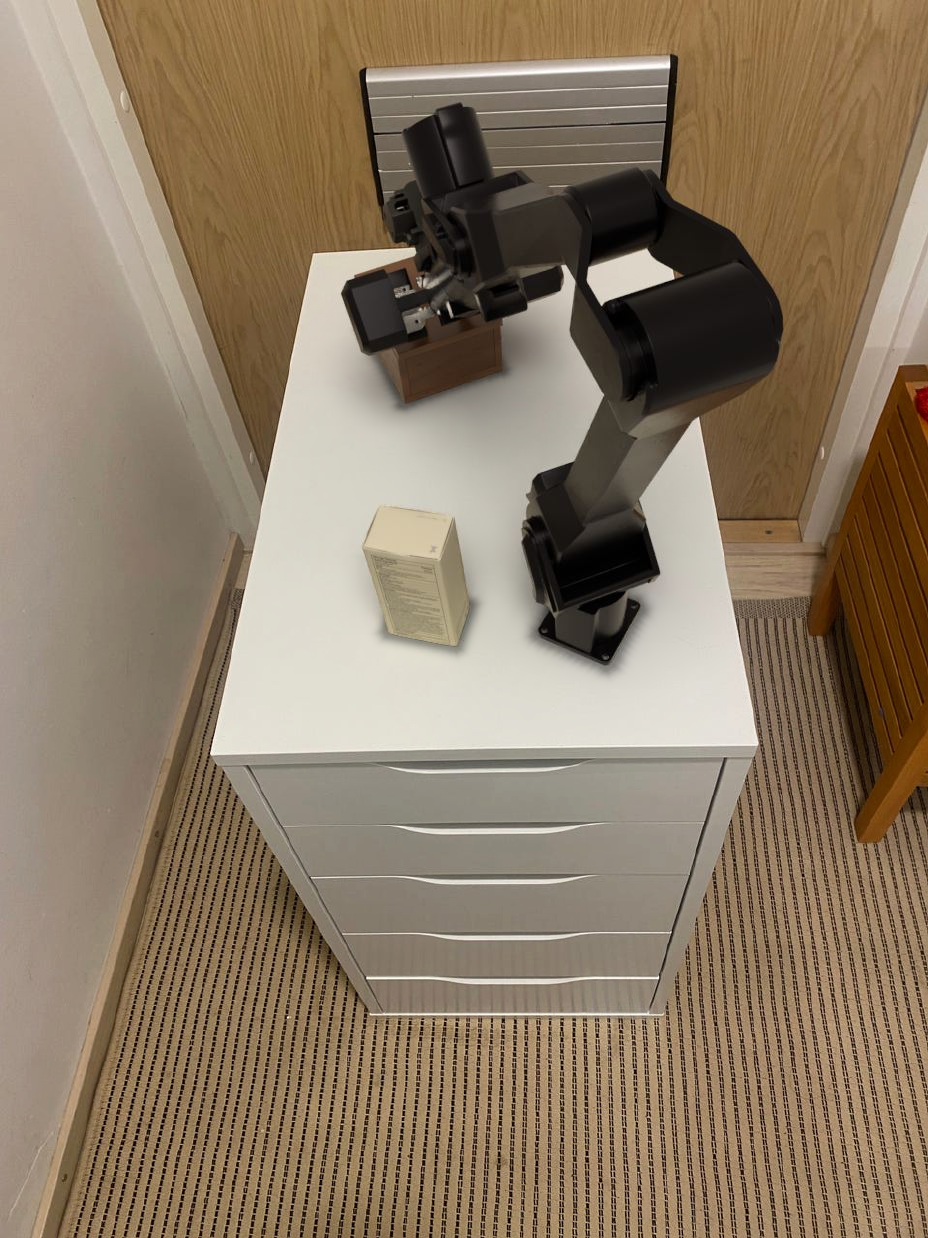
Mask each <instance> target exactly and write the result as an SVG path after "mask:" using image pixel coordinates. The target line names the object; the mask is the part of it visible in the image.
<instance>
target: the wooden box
mask: <svg viewBox="0 0 928 1238" xmlns="http://www.w3.org/2000/svg"><path fill="white" fill-rule="evenodd" d="M502 345H503V343H502V326H500V327H497V328H494V329H491V330H488V331H485V332H482V333H479V334H476V335H474V336H471V337H468V338H465V339H462V340H459V341H456V342H453V343H450V344H447V345H444V346H441V347H438V348H435V349H432V350H429V351H426V352H423V353H420V354H417V355H414V356H411V357H408V358H405V359H402V360H399V359H398V357H397V356H396V354H395V352H394V350H393V349H390V350H387V351H384V352H381V353H378V356H379V358H380V360H381V361H382V363H383V365H384V367H385V369H386V371H387V372H388V374H389V377H390V378H391V379H392V382H393V384H394V386H395V388H396V390H397V391H398V393H399V395H400V397H401V399H402V401H403V403H404V404H408V403H411V402H414V401H417V400H420V399H423V398H425V397H428V396H432V395H435V394H437V393H441V392H443V391H446V390H449V389H453V388H454V387H459V386H460V385H461V386H462V385H463V384H467V383H469V382H473V381H475V380H478V379H481V378H484V377H488V376H490V375H493V374H495V373H498V372H502V371H503V370H504V363H503V362H504V361H503V346H502Z"/></svg>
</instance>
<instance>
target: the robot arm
mask: <svg viewBox="0 0 928 1238" xmlns="http://www.w3.org/2000/svg"><path fill="white" fill-rule="evenodd" d="M401 138H402V141H403V145H404V147H405V150H406V153H407V157H408V160H409V163H410V166H411V170H412V172H413V176H414V180H411V181H408V182H407V183H406V184H405V185H404V187H403V188H401V189H397V190H394V191H393V196H389V197H388V200H387V201H386V202H385V203H384V204H383V206H382V217H383V222H384V225H385V227H386V229H387V231H388V234H389V236H390V238H391V240H392V242H393V244H396V245H397V244H398V245H399V244H401V243H405V244H406V245H407V247H408V248H411V247H414V249H415V254H414V255H413V256H414V257H413V256H412V257H413V260H414V263H415V266H416V269H417V272H418V273H419V272H422V271H423V272H424V274H423V275H420V276H418V277H417V278H416V282H417V285H418V287H419V288H420V289H421V288H422V285H423V288H424V289H423V290H420V291H417V292H416V291H415V289H413V288H412V285H411V282H410V279H409V276H408V273H407V270H406V268H403V269H400V270H397V271H394V272H390V273H386V271H385V270H384V269H382V270H378V271H375V272H372V273H369V274H366V275H363V276H360V277H356V278H354V277H353V278H351V279H347V280H346V281H345V283H344V285H343V288H342V289H341V292H340V296H341V299H342V301H343V304H344V307H345V310H346V312H347V313H346V314H347V315H348V318H349V321H350V324H351V328H352V330H353V332H354V335H355V338H356V341H357V344H358V347H359V350H360V353H362V354H364V355H367V356H369V357H372V356H374V355H377V354H378V353H381V352H384V351H387V350H390V349H393V348H396V347H398V346H401V345H403V344H406V343H409V342H412V341H415V340H418V339H421V338H424V337H427V336H428V333H427V330H426V327H425V320H426V319H428V318H431V317H434V316H437V315H438V317H439V320H440V323H441V326H442V327H443V326H446V325H449V324H452V323H455V322H458V321H461V320H464V319H467V318H470V317H473V316H476V315H479V314H481V316H482V319H483V322H484V323H486V324H487V323H490V322H493V321H497V320H500V319H506V318H509V317H512V316H515V315H518V314H521V313H525V312H527V311H528V310H529V306H528V305H529V304H531V303H534V302H538V301H540V300H543V299H546V298H549V297H552V296H555V295H557V294H558V293H560V292H561V291H562V289H563V286H564V283H565V274H564V271H563V267H562V266H566V268H567V269H568V271H569V273H570V275H571V276H572V278H573V280H574V282H575V283H574V289H573V290H574V291H573V297H572V306H571V314H570V321H569V322H570V323H569V329H568V331H569V336H570V338H571V341H572V342H573V343H574V345H575V347H576V349H577V350H578V353H579V354H580V356H581V357H582V360H583V361H584V362H585V365H586V367H587V369H589V372H590V374H591V375H592V377H593V379H594V381H595V382H596V384H597V386H598V388H599V389H600V391H601V393H602V394H603V395H602V399H601V401H600V403H599V405H598V408H597V410H596V412H595V414H594V416H593V419H592V420H591V423H590V424H589V428H588V430H587V432H586V434H585V437H584V438H583V441H582V442H581V445H580V448H579V450H578V451H577V454H576V456H575V459H574V460H573V461H570V462H567V463H564V464H562V465H558V466H556V467H553V468H550V469H547V470H545V471H541V472H538V473H537V474H536V475H535V476H534V477H533V479H532V480H531V486H530V491H529V492H527V493H525V497H526V499H527V501H528V504H527V506H526V508H525V518H526V519H523V520H522V523H521V528H520V531H521V535H522V539H521V542H520V543H521V548H522V551H523V555H524V558H525V559H524V560H525V563H526V566H527V569H528V572H529V577H530V581H531V584H532V597H533V599H534V601H535V603H537V604H540V605H544V606H545V607H548V609H549V611H548V612H547V614H546V615H545V617H544V619H543V620H542V622H541V623H540V624H539V627H538V629H537V634H538V636H539V637H540V638H541V639H544V640H546V641H549V642H551V643H553V644H556V645H558V646H559V647H563V648H565V649H568V650H569V651H572V652H574V653H576V654H578V655H581V656H582V657H585V658H588V659H590V660H593V661H594V662H597V663H598V664H599V663H600V664H601V665H605V666H606V665H609V664H611V663H612V661H613V659H614V658H615V656H616V654H617V653H618V651H619V648H620V647H621V645H622V643H623V642H624V640H625V638H626V637H627V634H628V632H629V631H630V629H631V627H632V625H633V624H634V622H635V621H636V618H637V617H638V615H639V613H640V612H641V608H642V607H641V606H642V605H641V604H640V602H639V601H637V600H635V599H633V598H630V597H629V596H628V595H629V591H630V590H632V589H635V588H636V587H641V586H643V585H645V584H650V583H653V582H655V581H656V580H657V579H658V578H659V577H660V576H661V569H660V566H659V562H658V558H657V554H656V552H655V548H654V545H653V542H652V538H651V534H650V530H649V527H648V524H647V519H646V516H645V514H644V513H645V512H644V511H643V507H642V504H641V500H640V499H641V497H642V496H643V494H644V493H645V491H646V490H647V488H648V487H649V486H650V484H651V482H652V481H653V480H654V478H655V477H656V475H657V474H658V472H659V471H660V469H662V467H663V465H664V464H665V462H666V461H667V459H668V458H669V456H670V455H671V454H672V452H673V451H674V449H675V448H676V446H677V445H678V443H679V442H680V441H681V439H682V437H683V436H684V435H685V433H686V432H687V430H688V429H689V427H690V425H691V424H692V423H693V422H694V421H695V420H696V419H698V418H699V417H701V416H703V415H705V414H708V413H709V412H712V411H713V410H715V409H717V408H719V407H721V406H722V405H725V404H726V403H729V402H730V401H733V400H735V399H736V398H737V397H740V396H742V395H743V394H745V393H747V392H748V391H749V390H750V389H751V388H753V387H754V386H755V385H757V384H758V383H760V382H761V381H763V380H764V379H765V378H767V377H768V376H769V375H770V374H771V373H772V372H773V370H774V369H775V366H776V364H777V362H778V359H779V356H780V351H781V347H782V345H781V342H782V338H783V333H784V315H783V310H782V306H781V302H780V300H779V298H778V296H777V293H776V292H775V289H774V288H773V286H772V285H771V283H770V282H769V281H768V279H767V278H766V276H765V275H764V273H763V272H762V271H761V269H760V268H759V266H758V265H757V263H756V262H755V261H754V259H753V257H752V256H751V254H750V253H749V252H748V250H747V249H746V248H745V246H744V244H743V243H742V241H741V239H740V238H739V237H738V236H737V235H736V233H734V232H733V231H732V230H731V229H730V228H728V227H726V226H724V225H722V224H720V223H719V222H716V221H715V220H713V219H711V218H709V217H707V216H706V215H703V214H701V213H699V212H697V211H696V210H694V209H692V208H690V207H688V206H687V205H685V204H683V203H681V202H679V201H677V200H675V199H674V198H673V196H672V195H671V194H670V192H669V191H668V189H667V188H666V186H665V185H664V183H663V182H662V180H661V179H660V177H659V176H658V174H656V172H655V171H653V169H652V168H648V167H647V168H646V167H644V168H639V167H638V166H628V167H625V168H622V169H618V170H614V171H612V172H608V173H606V174H602V175H598V176H595V177H592V178H588V179H585V180H582V181H579V182H575V183H572V184H569V185H567V186H565V187H564V189H563V191H561V192H557V193H554V191H553V188H552V187H551V186H550V185H547V184H542V183H536V182H535V181H534V180H533V179H532V178H530V177H529V175H528V174H526V173H525V172H524V171H523V170H522V169H517V170H514V171H510V172H508V173H507V172H506V173H504V174H500V175H497V176H496V174H495V170H494V167H493V164H492V160H491V158H490V154H489V151H488V148H487V147H488V146H487V143H486V140H485V137H484V134H483V130H482V127H481V123H480V120H479V116H478V113H477V111H476V108H474V107H473V106H463V103H462V101H459V102H455V103H452V104H448V105H445V106H441V107H437V108H435V110H434V112H433V114H430V115H429V116H426V117H424V118H422V119H420V120H418V121H417V122H414V123H413V124H412V125H411V126H408V127H405V128H404V129H402V131H401ZM644 250H647V252H648V253H649V254H650V256H651V257H652V258H653V259H654V260H655V261H656V262H657V263H660V264H662V265H664V266H665V267H667V268H669V269H671V270H673V271H674V272H677V273H678V274H680V275H682V276H679V277H676V278H673V279H670V280H666V281H664V282H661V283H657V284H655V285H651V286H649V287H644V288H643V289H639V290H635V291H632V292H630V293H626V294H624V295H620V296H617V297H614V298H611V299H609V300H606V301H604V302H603V304H601V302H600V301H599V299H598V298H597V296H596V294H595V293H594V290H593V289H592V287H591V285H590V284H589V282H588V275H589V268H592V267H594V266H598V265H601V264H604V263H608V262H611V261H614V260H616V259H620V258H623V257H626V256H629V255H633V254H636V253H638V252H642V251H644ZM426 303H429V305H428V309H427V307H426V306H424V310H423V309H422V308H421V306H420V305H423V304H426ZM378 355H379V354H378ZM543 631H546V632H543ZM605 657H606V658H607V659H606V658H605Z"/></svg>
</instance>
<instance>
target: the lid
mask: <svg viewBox="0 0 928 1238" xmlns="http://www.w3.org/2000/svg"><path fill="white" fill-rule="evenodd" d="M414 256H415V255H413V256H410V257H409V256H408V257H407V258H403V259H400V260H397V261H394V262H390V263H387V264H385V265H382V266H378V267H375V268H372V269H369V270H366V271H363V272H359V273H355V274H354V275H353V278H356V277H360V276H363V275H366V274H369V273H372V272H375V271H378V270H382V269H384V270H385V271H386V273H390V272H394V271H397V270H400V269H403V268H406V270H407V273H408V276H409V279H410V282H411V285H412V288H413V289H415V291H416V292H417V291H420V290H423V289H424V288H423V285H422V288H421V289H420V288H419V287H418V285H417V282H416V278H417V277H418V276H420V275H423V274H424V272H423V271H422V272H419V273H418V272H417V269H416V266H415V263H414V260H413V257H414ZM428 305H429V303H426V304H423V305H420V306H421V308H422V309H423V310H424V306H426V307H427V309H428ZM503 319H504V318H503ZM503 319H500V320H497V321H493V322H490V323H487V324H486V323H484V322H483V319H482V316H481V314H479V315H476V316H473V317H470V318H467V319H464V320H461V321H458V322H455V323H452V324H449V325H446V326H443V327H442V326H441V323H440V320H439V317H438V315H437V316H434V317H431V318H428V319H426V320H425V327H426V330H427V333H428V336H427V337H424V338H421V339H418V340H415V341H412V342H409V343H406V344H403V345H401V346H398V347H396V348H393V350H394V352H395V354H396V356H397V357H398V359H399V360H402V359H405V358H408V357H411V356H414V355H417V354H420V353H423V352H426V351H429V350H432V349H435V348H438V347H441V346H444V345H447V344H450V343H453V342H456V341H459V340H462V339H465V338H468V337H471V336H474V335H476V334H479V333H482V332H485V331H488V330H491V329H494V328H497V327H500V326H501V327H503V326H504V321H503Z"/></svg>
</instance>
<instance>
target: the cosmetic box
mask: <svg viewBox="0 0 928 1238" xmlns="http://www.w3.org/2000/svg"><path fill="white" fill-rule="evenodd" d="M361 549H362V552H363V555H364V559H365V561H366V564H367V568H368V571H369V574H370V577H371V580H372V584H373V587H374V589H375V590H374V591H375V593H376V596H377V599H378V603H379V606H380V610H381V612H382V615H383V618H384V622H385V625H386V629H387V631H388V633H389V634H390V635H395V636H400V637H403V638H409V639H412V640H420V641H424V642H428V643H434V644H439V645H445V646H452V647H457V646H458V644H459V641H460V640H461V639H460V638H461V636H462V633H463V630H464V626H465V625H466V620H467V617H468V614H469V610H470V607H471V605H470V599H469V594H468V593H469V592H468V588H467V582H466V575H465V569H464V563H463V558H462V551H461V546H460V541H459V534H458V530H457V523H456V518H455V516H454V515H451V514H446V513H442V512H436V511H429V510H422V509H415V508H409V507H402V506H395V505H386V504H379V505H378V507H377V509H376V511H375V513H374V516H373V518H372V520H371V522H370V525H369V527H368V529H367V531H366V534H365V536H364V539H363V541H362V544H361Z"/></svg>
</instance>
